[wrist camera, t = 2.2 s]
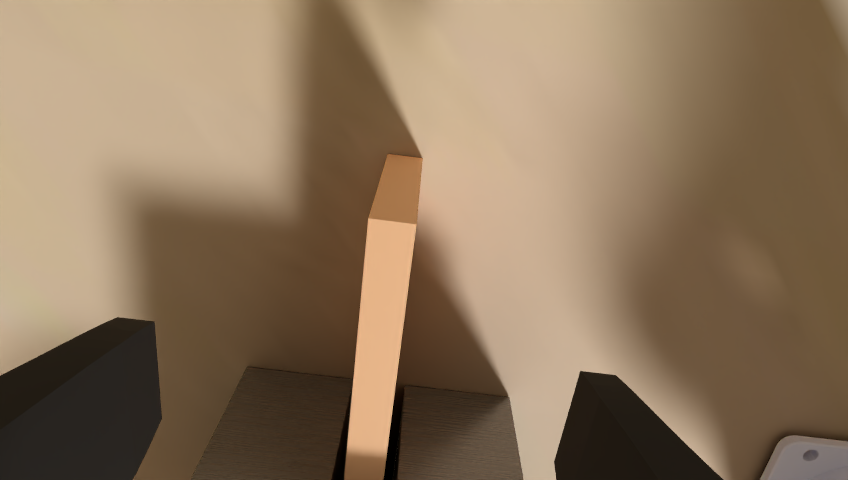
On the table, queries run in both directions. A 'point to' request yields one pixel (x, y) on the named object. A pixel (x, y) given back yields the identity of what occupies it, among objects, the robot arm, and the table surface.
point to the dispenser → (328, 431)
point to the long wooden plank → (382, 315)
